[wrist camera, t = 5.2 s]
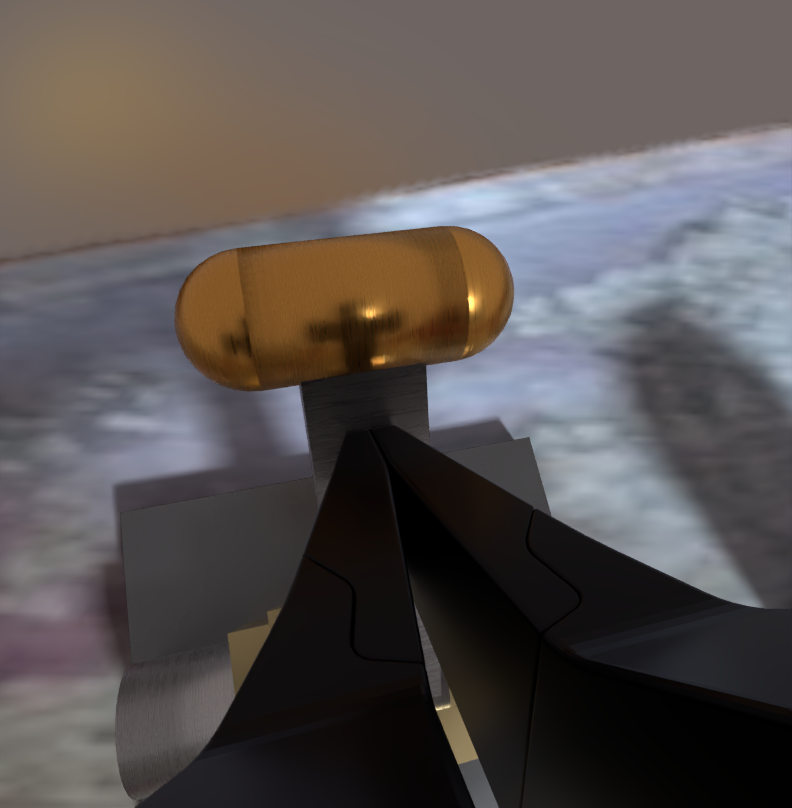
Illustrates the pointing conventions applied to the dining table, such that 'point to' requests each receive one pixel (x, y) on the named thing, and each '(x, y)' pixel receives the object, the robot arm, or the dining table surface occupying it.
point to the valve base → (237, 612)
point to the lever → (347, 332)
